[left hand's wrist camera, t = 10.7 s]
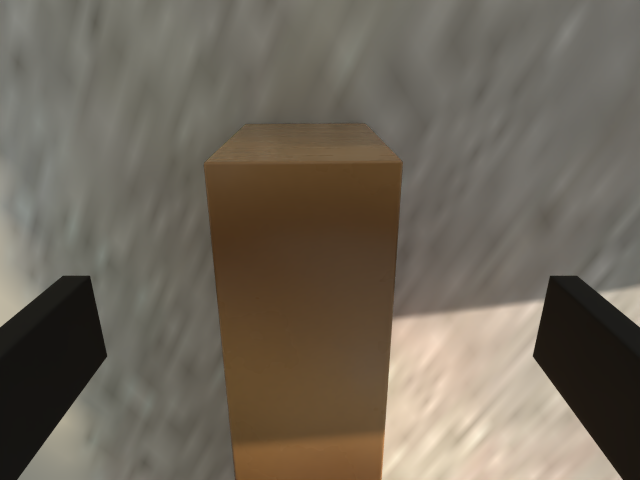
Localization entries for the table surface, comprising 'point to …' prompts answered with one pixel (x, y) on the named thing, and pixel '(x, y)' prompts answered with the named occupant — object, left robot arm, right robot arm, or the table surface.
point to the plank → (305, 296)
